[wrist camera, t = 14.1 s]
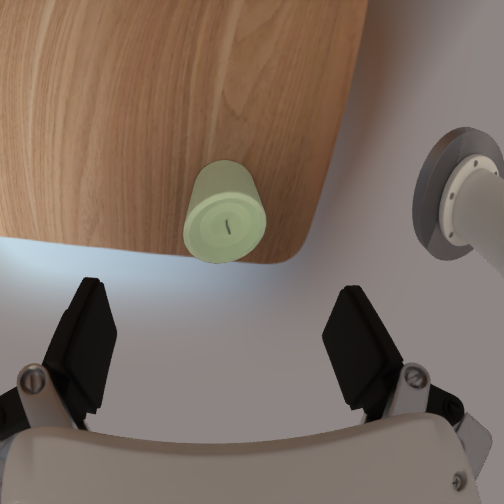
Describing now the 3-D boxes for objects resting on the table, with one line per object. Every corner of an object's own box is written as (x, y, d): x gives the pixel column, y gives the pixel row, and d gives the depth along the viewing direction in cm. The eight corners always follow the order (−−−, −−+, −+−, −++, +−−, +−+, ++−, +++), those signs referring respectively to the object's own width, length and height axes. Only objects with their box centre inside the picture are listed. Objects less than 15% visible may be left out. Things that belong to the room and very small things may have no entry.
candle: (262, 169, 22) (283, 209, 15) (243, 221, 24) (253, 279, 17) (203, 152, 20) (194, 185, 14) (187, 207, 23) (175, 262, 16)
